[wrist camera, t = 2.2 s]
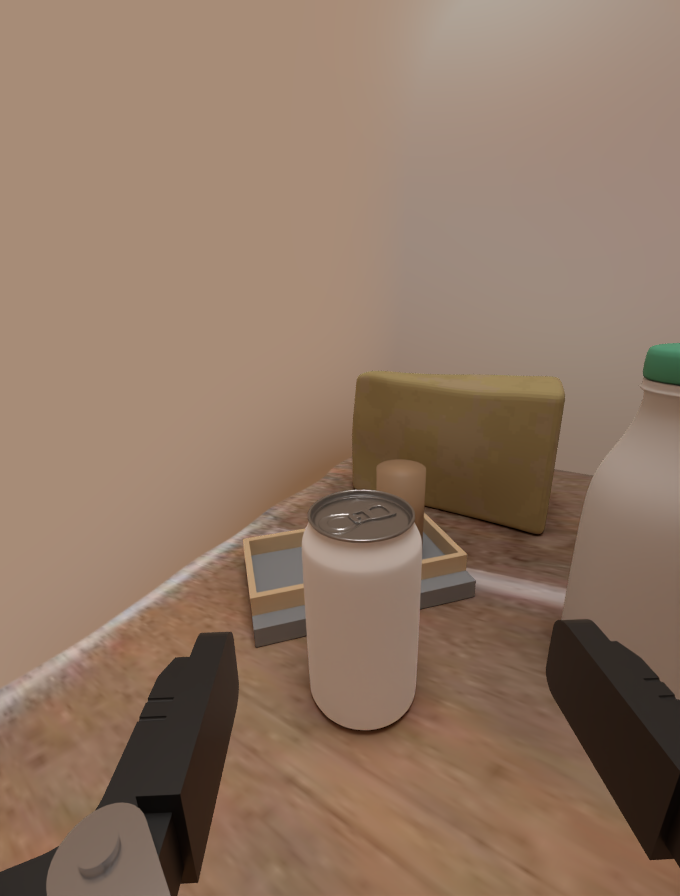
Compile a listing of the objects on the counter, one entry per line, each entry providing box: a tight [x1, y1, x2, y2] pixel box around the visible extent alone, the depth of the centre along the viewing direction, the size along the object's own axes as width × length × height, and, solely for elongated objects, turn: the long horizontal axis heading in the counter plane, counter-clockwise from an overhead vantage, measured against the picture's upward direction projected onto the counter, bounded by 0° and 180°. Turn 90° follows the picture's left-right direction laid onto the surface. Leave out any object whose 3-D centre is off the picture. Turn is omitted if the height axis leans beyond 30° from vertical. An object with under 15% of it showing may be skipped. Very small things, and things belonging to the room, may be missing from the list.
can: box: [302, 490, 422, 730], centre depth 24 cm, size 6×6×12 cm
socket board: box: [243, 459, 476, 647], centre depth 34 cm, size 17×11×10 cm, turn 106°
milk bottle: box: [561, 343, 680, 700], centre depth 23 cm, size 8×8×20 cm
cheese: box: [352, 371, 565, 534], centre depth 47 cm, size 22×10×15 cm, turn 66°
